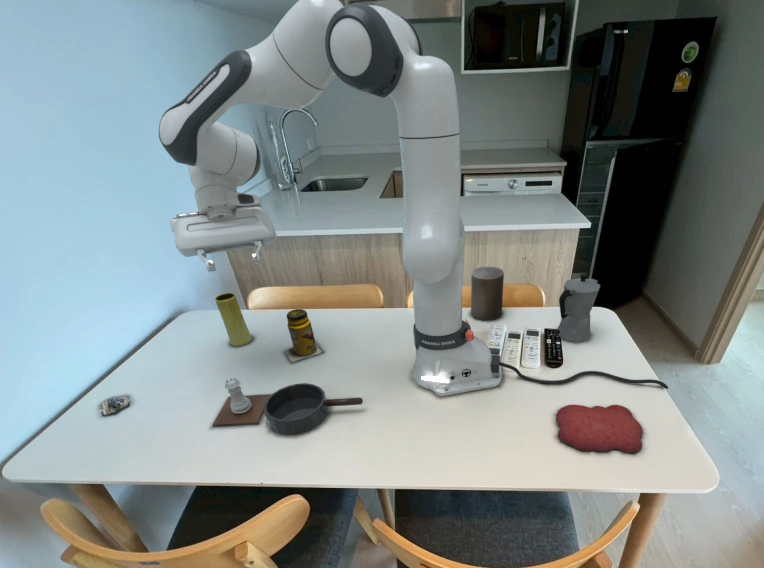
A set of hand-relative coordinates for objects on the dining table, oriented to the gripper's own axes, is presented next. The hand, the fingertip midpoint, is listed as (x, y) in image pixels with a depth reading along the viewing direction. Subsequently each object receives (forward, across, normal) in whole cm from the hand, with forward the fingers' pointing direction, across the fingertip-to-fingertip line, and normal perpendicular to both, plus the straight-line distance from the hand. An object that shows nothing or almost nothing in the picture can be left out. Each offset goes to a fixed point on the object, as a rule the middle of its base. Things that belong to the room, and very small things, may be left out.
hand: (235, 266), depth 90 cm
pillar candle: (+17, +66, +25) cm, 72 cm away
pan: (+34, +5, +7) cm, 35 cm away
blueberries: (+19, -36, +23) cm, 47 cm away
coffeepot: (+33, +81, +9) cm, 88 cm away
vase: (+5, -7, +37) cm, 38 cm away
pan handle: (+35, +15, +3) cm, 38 cm away
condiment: (+15, +9, +26) cm, 32 cm away
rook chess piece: (+29, -7, +12) cm, 32 cm away
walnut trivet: (+29, -7, +12) cm, 33 cm away
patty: (+57, +62, -15) cm, 86 cm away
